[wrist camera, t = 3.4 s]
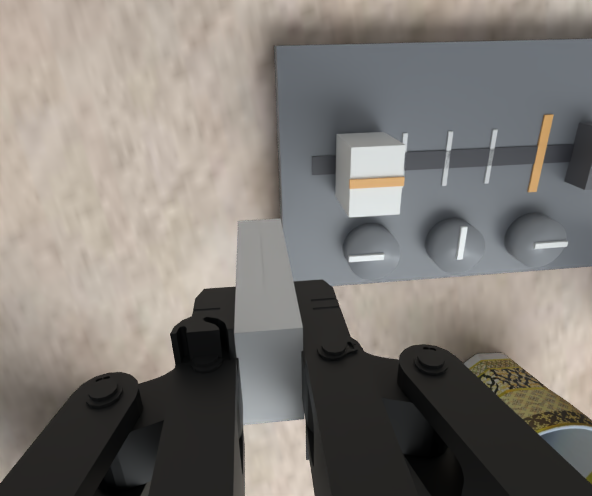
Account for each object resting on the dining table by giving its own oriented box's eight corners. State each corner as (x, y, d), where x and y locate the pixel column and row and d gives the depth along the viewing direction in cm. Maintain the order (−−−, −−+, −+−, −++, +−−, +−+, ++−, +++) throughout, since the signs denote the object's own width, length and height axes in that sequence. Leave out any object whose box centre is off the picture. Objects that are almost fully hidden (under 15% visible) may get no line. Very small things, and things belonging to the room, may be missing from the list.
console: (282, 276, 33) (287, 304, 30) (274, 45, 26) (279, 45, 23) (575, 255, 36) (612, 278, 32) (636, 37, 29) (693, 36, 25)
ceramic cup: (439, 338, 38) (501, 430, 29) (546, 333, 39) (638, 421, 30) (416, 445, 43) (463, 551, 34) (511, 439, 44) (579, 539, 35)
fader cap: (334, 195, 29) (348, 218, 25) (335, 133, 27) (351, 148, 23) (380, 193, 29) (401, 215, 25) (384, 131, 27) (407, 145, 23)
